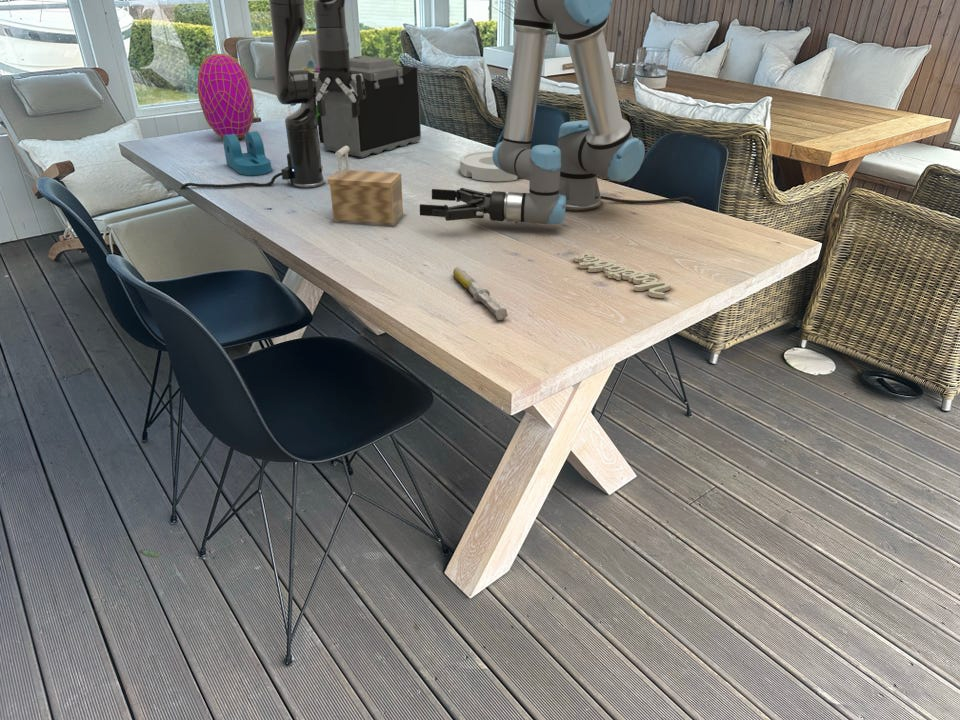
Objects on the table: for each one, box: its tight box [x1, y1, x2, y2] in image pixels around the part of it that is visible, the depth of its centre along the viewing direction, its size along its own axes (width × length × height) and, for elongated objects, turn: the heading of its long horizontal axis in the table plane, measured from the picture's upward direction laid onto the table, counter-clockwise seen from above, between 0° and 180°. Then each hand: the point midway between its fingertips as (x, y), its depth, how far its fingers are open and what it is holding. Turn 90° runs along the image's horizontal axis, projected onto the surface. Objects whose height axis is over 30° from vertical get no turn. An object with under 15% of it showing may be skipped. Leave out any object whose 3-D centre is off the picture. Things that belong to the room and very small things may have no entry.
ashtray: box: [459, 150, 522, 182], centre depth 228 cm, size 23×23×4 cm
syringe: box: [452, 266, 509, 321], centre depth 145 cm, size 25×4×3 cm, turn 21°
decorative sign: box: [574, 252, 671, 299], centre depth 155 cm, size 26×1×10 cm
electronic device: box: [314, 55, 422, 159], centre depth 250 cm, size 37×22×30 cm, turn 144°
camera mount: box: [222, 131, 272, 176], centre depth 226 cm, size 18×10×10 cm, turn 35°
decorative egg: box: [197, 53, 255, 140], centre depth 258 cm, size 19×19×30 cm
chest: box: [329, 178, 404, 227], centre depth 185 cm, size 17×10×10 cm, turn 80°
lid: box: [326, 146, 402, 188], centre depth 180 cm, size 17×10×8 cm, turn 80°
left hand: (339, 116), depth 175 cm, fingers open, 8 cm apart
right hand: (426, 201), depth 181 cm, fingers open, 13 cm apart
